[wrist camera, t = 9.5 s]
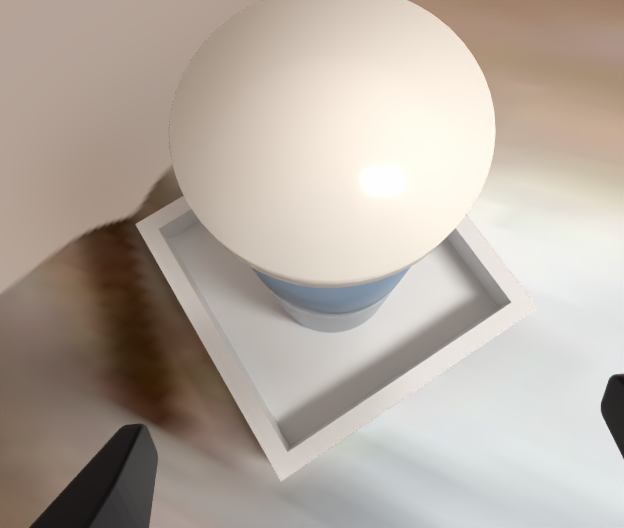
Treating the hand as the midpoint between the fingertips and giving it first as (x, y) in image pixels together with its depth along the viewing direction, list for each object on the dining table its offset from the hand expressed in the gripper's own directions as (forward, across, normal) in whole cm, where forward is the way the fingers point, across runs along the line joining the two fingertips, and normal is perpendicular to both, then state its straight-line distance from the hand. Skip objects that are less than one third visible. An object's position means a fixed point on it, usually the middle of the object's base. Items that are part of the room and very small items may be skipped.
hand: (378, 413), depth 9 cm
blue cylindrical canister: (+12, 0, +4) cm, 13 cm away
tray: (+13, 0, +5) cm, 14 cm away
